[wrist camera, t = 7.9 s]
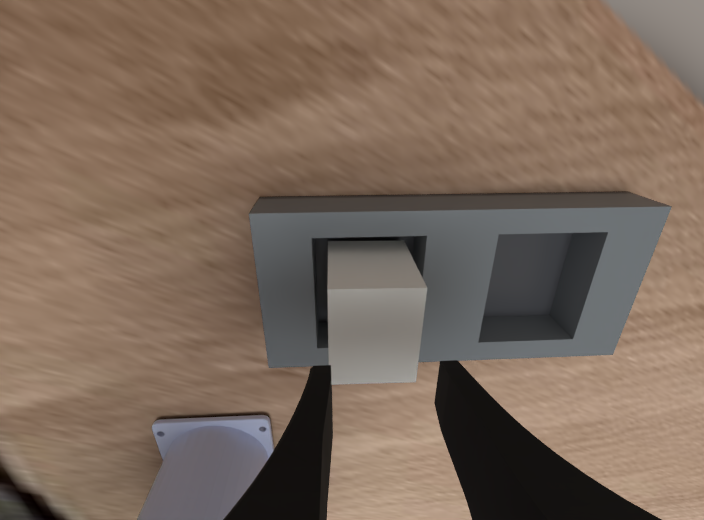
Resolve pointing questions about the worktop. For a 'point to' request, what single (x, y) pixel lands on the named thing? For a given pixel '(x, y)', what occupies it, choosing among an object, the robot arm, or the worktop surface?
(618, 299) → the socket strip
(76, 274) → the worktop surface
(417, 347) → the plug
